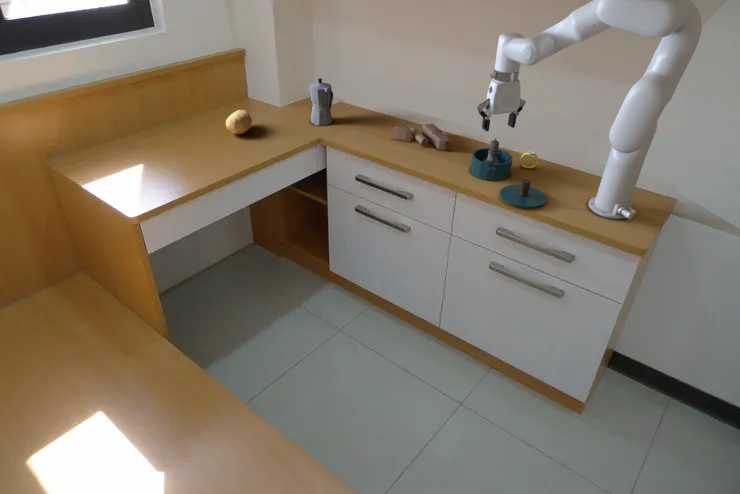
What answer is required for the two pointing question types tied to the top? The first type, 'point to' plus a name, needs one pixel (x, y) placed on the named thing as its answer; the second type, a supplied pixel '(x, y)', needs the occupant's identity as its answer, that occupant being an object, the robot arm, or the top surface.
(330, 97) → the coffeepot
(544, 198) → the pan lid
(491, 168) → the pan
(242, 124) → the potato
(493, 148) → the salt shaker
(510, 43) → the robot arm
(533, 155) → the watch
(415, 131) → the wooden block set
